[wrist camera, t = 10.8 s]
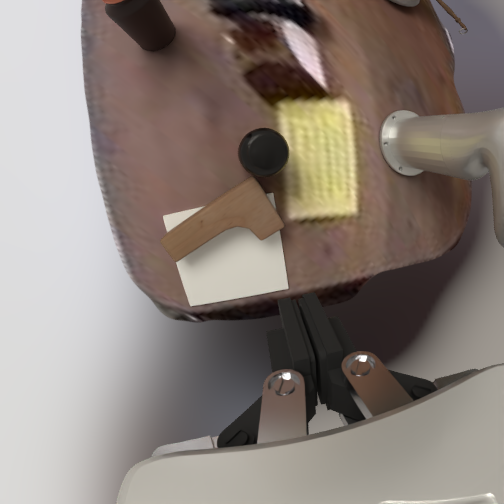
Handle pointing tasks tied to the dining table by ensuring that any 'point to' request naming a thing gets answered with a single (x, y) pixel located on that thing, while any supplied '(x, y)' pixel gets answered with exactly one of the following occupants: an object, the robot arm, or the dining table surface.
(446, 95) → the dining table surface
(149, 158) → the dining table surface
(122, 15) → the vinegar
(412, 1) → the coffee pot
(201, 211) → the wooden block
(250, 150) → the supplement bottle
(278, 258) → the off-white mat
